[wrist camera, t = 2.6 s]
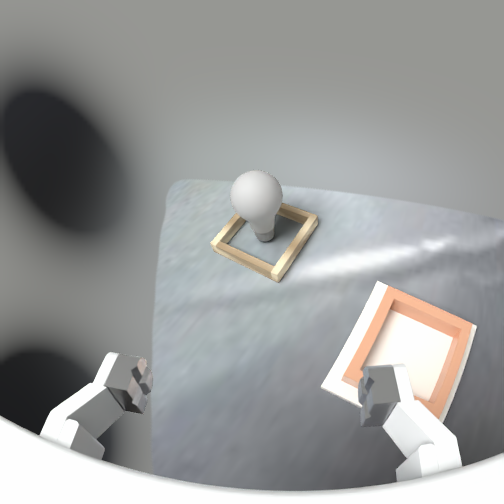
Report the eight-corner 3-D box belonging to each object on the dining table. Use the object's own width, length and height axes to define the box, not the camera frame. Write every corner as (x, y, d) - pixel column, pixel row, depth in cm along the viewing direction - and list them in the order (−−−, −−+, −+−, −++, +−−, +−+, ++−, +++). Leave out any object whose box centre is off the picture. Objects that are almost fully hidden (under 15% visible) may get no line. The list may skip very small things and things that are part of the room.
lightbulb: (259, 264, 41) (242, 204, 32) (235, 235, 44) (215, 176, 35) (297, 240, 42) (290, 177, 33) (272, 214, 45) (259, 153, 37)
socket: (376, 285, 36) (380, 269, 33) (473, 329, 30) (485, 317, 27) (320, 388, 30) (321, 381, 27) (431, 439, 24) (444, 437, 21)
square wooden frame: (255, 201, 47) (253, 192, 46) (317, 224, 43) (317, 215, 41) (213, 251, 43) (210, 243, 42) (278, 282, 39) (277, 275, 37)
